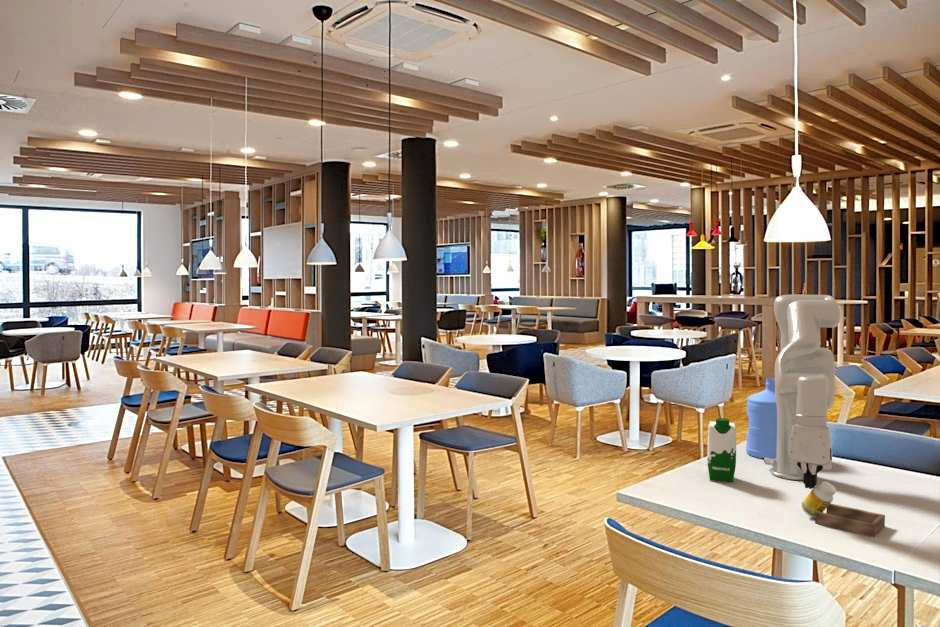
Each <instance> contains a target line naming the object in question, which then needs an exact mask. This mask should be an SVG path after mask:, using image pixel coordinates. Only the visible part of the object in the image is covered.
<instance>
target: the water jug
mask: <svg viewBox="0 0 940 627" xmlns="http://www.w3.org/2000/svg"><path fill="white" fill-rule="evenodd" d="M746 402H747V403H746V410H747V413H746V415H747V417H748V431H747V433H746V445H745V452H746V454H747V455H749V456H751V457H753V456H754V457H753V458H756V457H759V458H758V459H761V458H765V457H766V458H771V459H774V458H776V450H777V405H776V398H775V378H771V377H770V378H765V389H764V390H762V391H759V392H757V393H754V394H751V395H749V396H748V397H747V400H746Z"/></svg>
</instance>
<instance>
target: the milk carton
mask: <svg viewBox="0 0 940 627" xmlns="http://www.w3.org/2000/svg"><path fill="white" fill-rule="evenodd" d="M707 428H708V429H707V450H706V451H707V453H706V454H707V458H706V459H707V462H706V463H707V470H708V477H709V481H710V482H719V481H720V482H719V483H729V482H732V483H734V478H735V471H736V466H737V465H736V464H737V427H736V425H735V422H730V419H728V418H725V417H719V418H715V421H711V420H710V421H709V424H708V427H707ZM732 483H731V484H732Z"/></svg>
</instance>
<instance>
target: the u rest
mask: <svg viewBox="0 0 940 627" xmlns="http://www.w3.org/2000/svg"><path fill="white" fill-rule="evenodd" d="M814 519H815V520H814V524H817V525H820V526H824V527H829V528H834V529H837V530H838V529H839V530H843V531H845V532H850V533H855V534H858V533H859V535H862V534H864V535H863V536H867V535H868V536H867V537H871V536H873V537H872V538H874V537H876V535H878V534H879V532H881V530H882V529H883V528H885V524H886V521H885V520H886V515H885V514H881V513H877V512H873V511H868V510H863V509H858V508H853V507H849V506H844V505H840V504H835V503H832V502H831V503H830V504H829V505H828V507H827V508H826V512H824V511H823V512H818V511H817V512H815V517H814Z"/></svg>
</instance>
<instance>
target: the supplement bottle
mask: <svg viewBox="0 0 940 627" xmlns="http://www.w3.org/2000/svg"><path fill="white" fill-rule="evenodd" d="M836 491H837V490H836V487H835V486H834V485H833V484H832V483H830V482H829V481H823V480H822V482H821V483H820V484H819V485H816V486H815V487H814V488H812V489H811V491H810V492H809V494H808V495H807V496H805V499H803V501H802V502H801V509H802V511H803V512H804V513H805V514H807V515H808V516H809V517H811V518H815V512H817V511H818V512H823V513H824V511H825V510H827V507H828V505H829V504H830V503H831V504H832V502H833V500H834V495H835V493H837V492H836Z"/></svg>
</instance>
